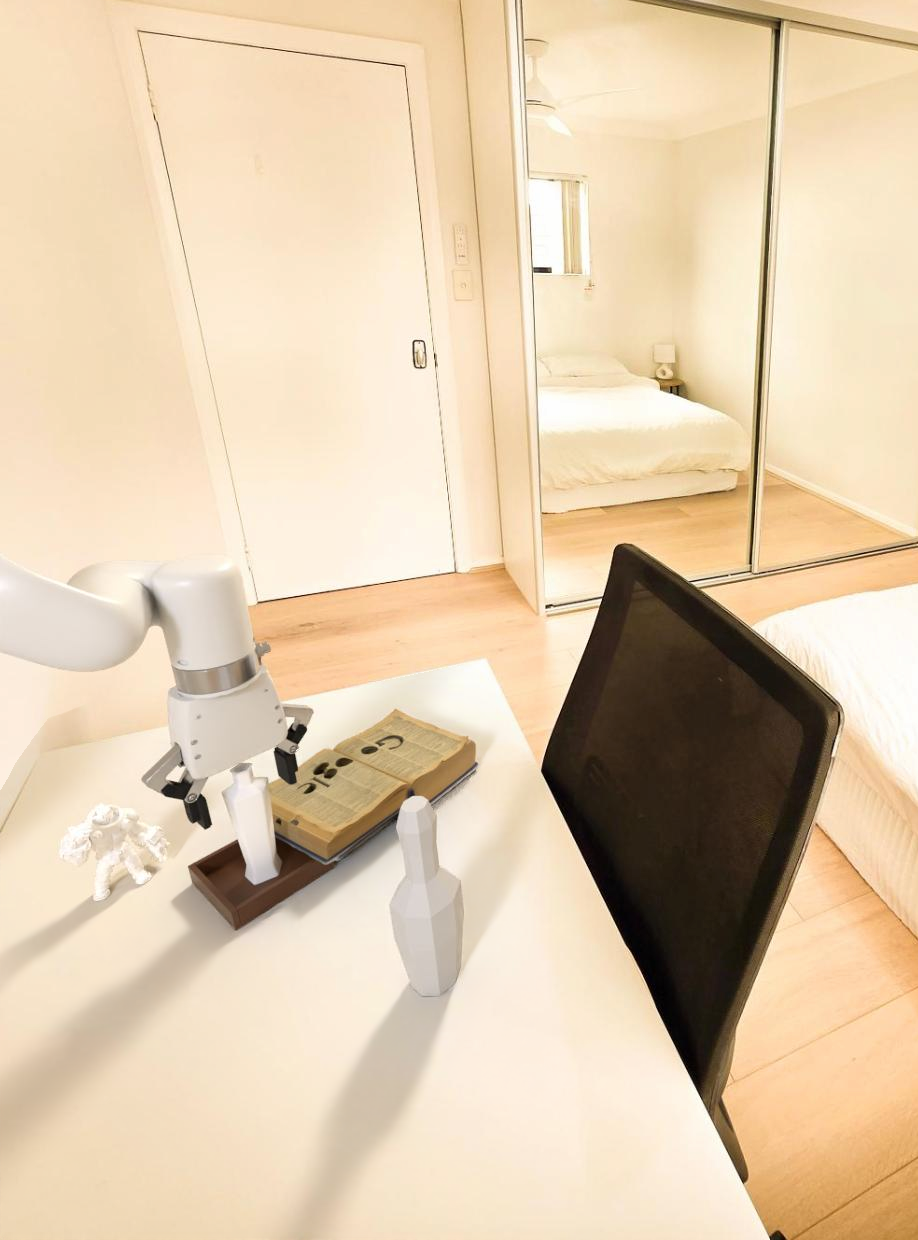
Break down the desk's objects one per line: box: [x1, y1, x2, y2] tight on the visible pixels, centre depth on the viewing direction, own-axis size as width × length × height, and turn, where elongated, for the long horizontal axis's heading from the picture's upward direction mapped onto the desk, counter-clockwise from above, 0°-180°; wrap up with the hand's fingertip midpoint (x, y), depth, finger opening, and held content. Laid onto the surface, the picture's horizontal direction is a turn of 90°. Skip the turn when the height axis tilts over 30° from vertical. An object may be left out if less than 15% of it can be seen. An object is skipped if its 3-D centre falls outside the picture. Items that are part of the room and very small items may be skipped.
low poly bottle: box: [388, 796, 465, 997], centre depth 68 cm, size 6×6×22 cm
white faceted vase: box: [221, 762, 282, 885], centre depth 81 cm, size 5×4×15 cm
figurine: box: [58, 803, 170, 902], centre depth 79 cm, size 10×5×12 cm, turn 173°
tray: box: [187, 837, 336, 931], centre depth 83 cm, size 11×11×3 cm
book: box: [269, 708, 479, 865], centre depth 95 cm, size 25×17×6 cm
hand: (247, 800), depth 80 cm, fingers open, 8 cm apart
